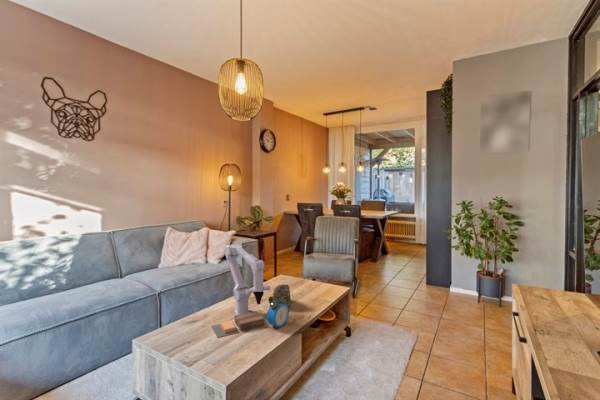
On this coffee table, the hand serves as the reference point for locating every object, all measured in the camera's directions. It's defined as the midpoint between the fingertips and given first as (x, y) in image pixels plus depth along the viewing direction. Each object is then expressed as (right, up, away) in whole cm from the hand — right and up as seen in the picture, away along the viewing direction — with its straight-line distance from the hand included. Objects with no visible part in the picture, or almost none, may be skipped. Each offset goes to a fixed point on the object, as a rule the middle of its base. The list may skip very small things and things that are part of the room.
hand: (258, 303), depth 174 cm
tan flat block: (-5, -11, -4) cm, 12 cm away
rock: (+11, -10, +25) cm, 29 cm away
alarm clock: (+12, -11, -5) cm, 17 cm away
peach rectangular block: (-16, -8, -10) cm, 20 cm away
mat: (-17, -11, -10) cm, 23 cm away
